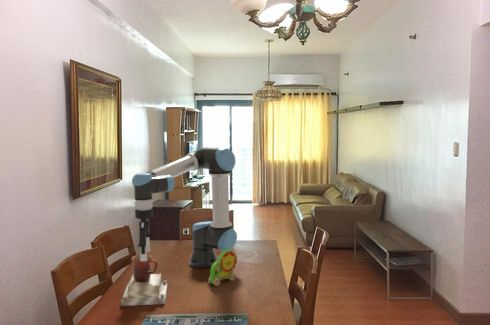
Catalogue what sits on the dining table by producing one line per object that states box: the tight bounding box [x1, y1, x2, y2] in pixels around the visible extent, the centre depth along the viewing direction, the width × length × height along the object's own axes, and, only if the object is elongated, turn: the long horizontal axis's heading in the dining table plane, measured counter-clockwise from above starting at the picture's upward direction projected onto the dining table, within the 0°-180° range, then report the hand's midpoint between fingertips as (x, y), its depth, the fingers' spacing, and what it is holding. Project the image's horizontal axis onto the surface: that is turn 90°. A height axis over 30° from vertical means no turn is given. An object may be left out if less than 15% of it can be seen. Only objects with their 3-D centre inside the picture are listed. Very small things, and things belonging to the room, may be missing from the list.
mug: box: [131, 254, 158, 282], centre depth 185 cm, size 12×9×10 cm
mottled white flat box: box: [120, 273, 168, 307], centre depth 186 cm, size 18×18×8 cm
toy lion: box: [208, 249, 238, 287], centre depth 205 cm, size 16×5×15 cm, turn 134°
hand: (145, 256), depth 185 cm, fingers open, 13 cm apart
